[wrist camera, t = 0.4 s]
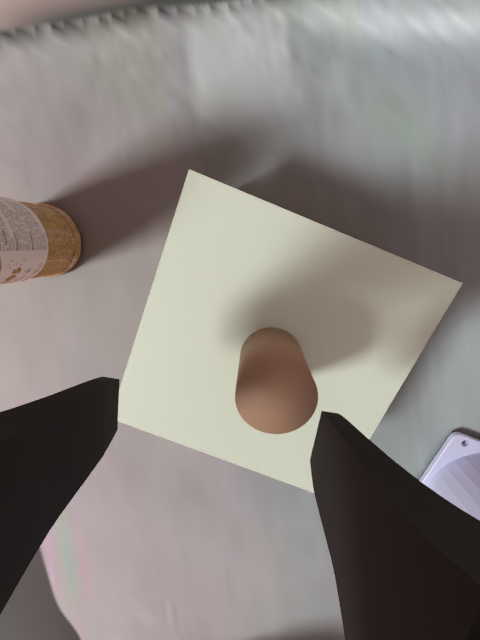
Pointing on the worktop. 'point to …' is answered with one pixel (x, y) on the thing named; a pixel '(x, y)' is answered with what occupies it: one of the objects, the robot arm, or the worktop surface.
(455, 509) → the robot arm
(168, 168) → the worktop surface
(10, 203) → the sprinkles bottle
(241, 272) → the lid
